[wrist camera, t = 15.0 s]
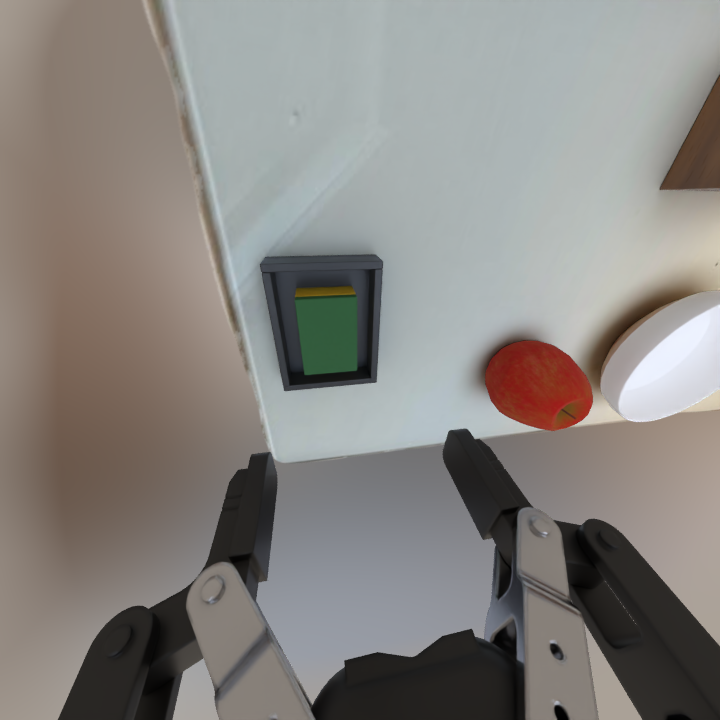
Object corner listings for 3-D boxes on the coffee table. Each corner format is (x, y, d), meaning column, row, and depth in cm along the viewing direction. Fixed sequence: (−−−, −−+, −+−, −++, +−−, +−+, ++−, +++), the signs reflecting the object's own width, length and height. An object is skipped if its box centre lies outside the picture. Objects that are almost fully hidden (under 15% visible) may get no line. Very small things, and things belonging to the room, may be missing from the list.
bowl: (608, 293, 32) (665, 311, 27) (745, 265, 33) (825, 278, 28) (561, 406, 43) (596, 434, 38) (667, 382, 44) (714, 406, 39)
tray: (265, 256, 24) (259, 264, 21) (375, 254, 25) (383, 260, 22) (286, 375, 31) (284, 391, 28) (371, 367, 32) (376, 382, 30)
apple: (473, 400, 38) (521, 460, 30) (477, 342, 33) (538, 395, 24) (538, 382, 39) (604, 436, 30) (553, 322, 33) (640, 367, 24)
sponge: (296, 288, 25) (294, 299, 22) (352, 285, 26) (357, 296, 23) (305, 357, 29) (304, 375, 26) (352, 354, 30) (357, 370, 27)
